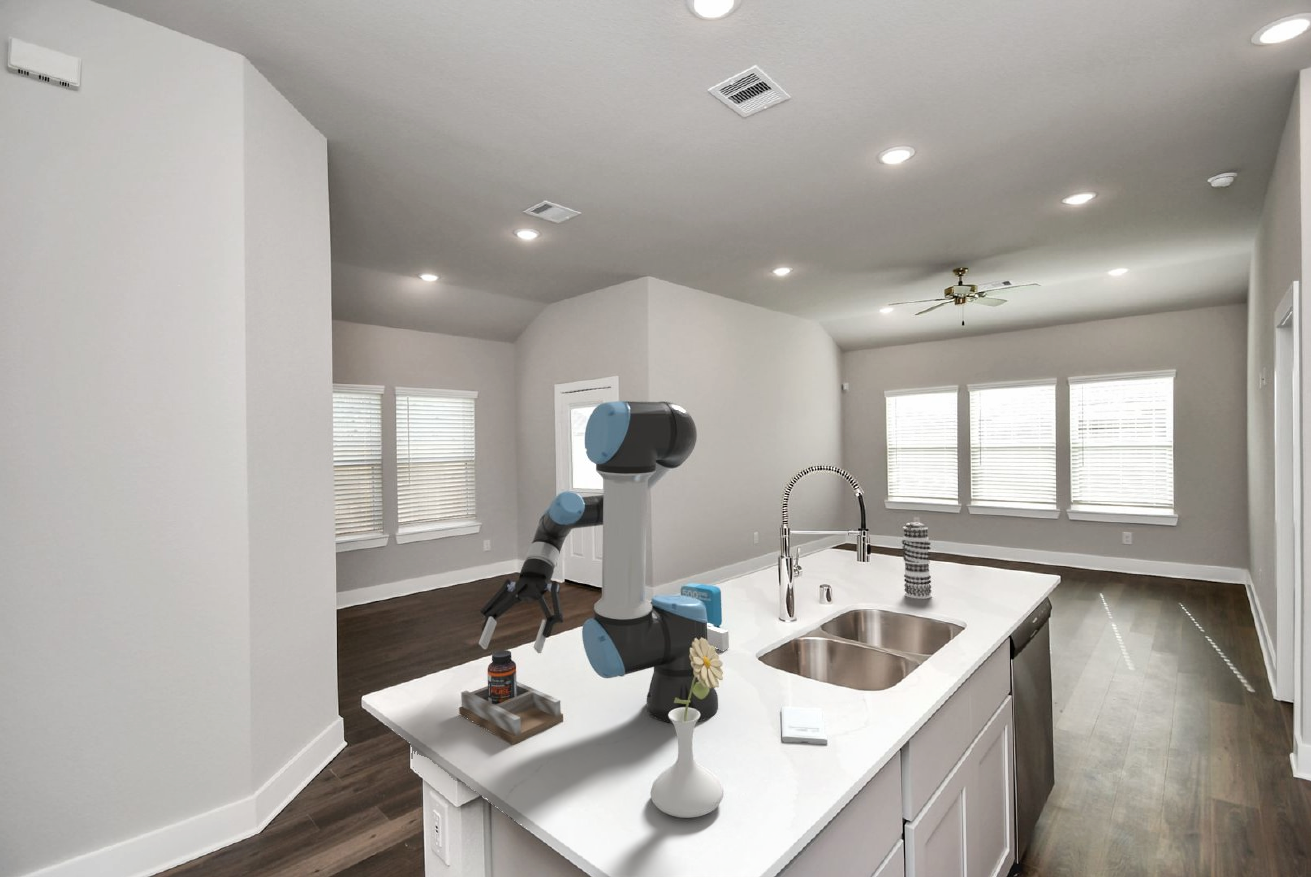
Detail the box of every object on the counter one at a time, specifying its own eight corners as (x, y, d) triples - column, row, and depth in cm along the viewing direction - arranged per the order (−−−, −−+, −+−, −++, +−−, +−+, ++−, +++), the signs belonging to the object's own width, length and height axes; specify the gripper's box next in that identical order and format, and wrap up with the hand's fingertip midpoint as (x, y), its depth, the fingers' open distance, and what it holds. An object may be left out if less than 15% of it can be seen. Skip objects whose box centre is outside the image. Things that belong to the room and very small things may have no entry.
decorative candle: (904, 598, 202) (902, 525, 202) (902, 591, 210) (900, 521, 210) (934, 599, 199) (931, 525, 199) (930, 592, 207) (928, 521, 208)
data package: (681, 624, 182) (679, 585, 182) (689, 620, 186) (688, 582, 186) (714, 630, 175) (713, 590, 175) (722, 626, 178) (721, 586, 178)
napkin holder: (737, 654, 156) (736, 632, 156) (694, 656, 156) (693, 634, 156) (730, 635, 171) (729, 616, 171) (690, 637, 171) (690, 617, 171)
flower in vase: (681, 837, 84) (675, 662, 84) (636, 799, 94) (631, 641, 94) (747, 801, 92) (741, 641, 92) (699, 770, 101) (694, 624, 101)
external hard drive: (822, 716, 120) (827, 747, 108) (781, 713, 122) (782, 744, 110) (822, 708, 120) (827, 738, 108) (781, 705, 122) (781, 735, 110)
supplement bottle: (488, 714, 122) (486, 659, 122) (488, 702, 127) (486, 650, 127) (518, 710, 123) (516, 655, 123) (516, 698, 129) (514, 646, 129)
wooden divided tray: (563, 721, 121) (562, 699, 121) (513, 745, 112) (512, 721, 112) (508, 695, 134) (507, 675, 134) (459, 714, 125) (458, 693, 125)
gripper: (591, 575, 143) (566, 660, 129) (500, 572, 150) (468, 652, 136) (581, 557, 138) (554, 644, 124) (488, 555, 145) (452, 637, 131)
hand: (509, 648), depth 130 cm, fingers open, 13 cm apart
